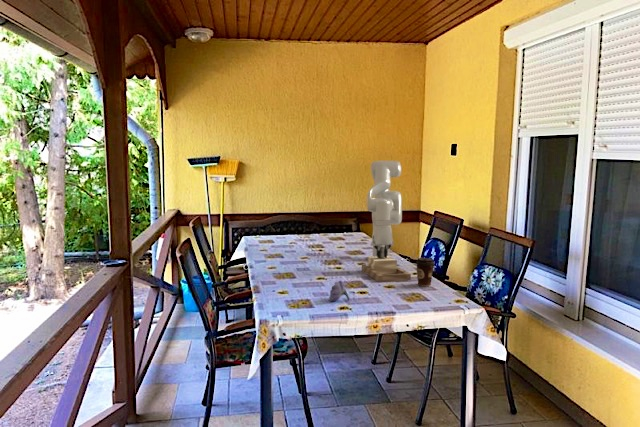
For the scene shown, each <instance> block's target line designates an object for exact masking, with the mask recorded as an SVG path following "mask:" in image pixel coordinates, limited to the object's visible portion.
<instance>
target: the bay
mask: <svg viewBox="0 0 640 427" xmlns="http://www.w3.org/2000/svg"><path fill="white" fill-rule="evenodd" d="M361 272H363V273H364V274H366V275H368V276H369V277H370V278H372V279H373V280H375V281H377V282H378V283H389V282H407V281H408V280H412V278H411V276H412V274H411V273H409V272H408V271H406V270H404V269H402V268H400V267H398V266H397V273H394V274H380V273H378V272H376V271H375V270H373V269H372V268H370V267H368V266H367V264H361ZM408 282H409V281H408Z"/></svg>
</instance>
